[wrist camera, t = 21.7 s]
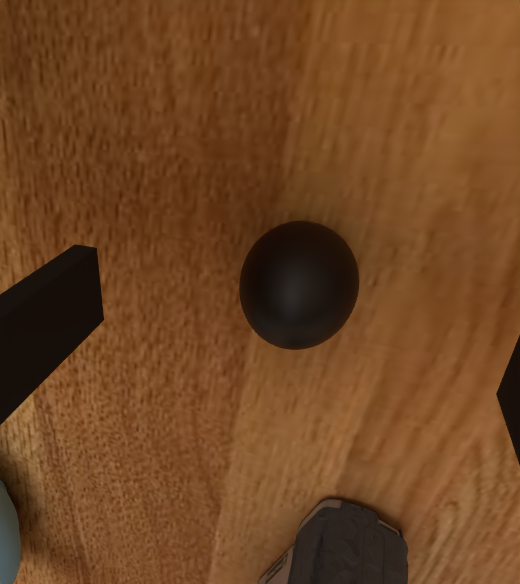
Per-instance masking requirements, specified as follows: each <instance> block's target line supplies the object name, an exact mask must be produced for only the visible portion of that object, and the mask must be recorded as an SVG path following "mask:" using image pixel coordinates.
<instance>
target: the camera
mask: <svg viewBox="0 0 520 584" xmlns="http://www.w3.org/2000/svg"><path fill="white" fill-rule="evenodd" d="M407 554H408V547H407V543H406V541H405V540H404V538H403V533H402V531H401V529H400V530H398V531H397V530H396V529H394V528H392V527H391V526H389V525H387V524H385V523H384V522H382V521H380V520H379V519H378V514H377V513H376V512H373V511H370V510H368V509H365V508H363V507H361V506H357V505H354V504H350V503H347V502H344V501H341V500H334V499H327V500H323V501H322V502H320V503H319V504H318V505H317V506H316V507H315V509H314V510H313V511H312V512H311V513H310V514H309V515H308V516H307V517H306V518H305V519H304V520H303V521H302V523H301V525H300V526H299V528H298V533H297V537H296V542H295V544H293V545H292V547H291V548H290V549H289V550H288V551H287V552H286V553H285V554H284V555H283V556H282V557H281V558H280V559H279V560H278V561H277V562H276V563H275V564H274V565H273V567H272V568H271V569H270V570H269V571H268V572H267V573H266V574H265V575H264V576H263V577H262V578H261V579H260V580H259V581H258V584H407V583H408V562H407Z"/></svg>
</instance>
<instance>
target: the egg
mask: <svg viewBox="0 0 520 584" xmlns="http://www.w3.org/2000/svg"><path fill="white" fill-rule="evenodd" d="M239 290H240V301H241V305H242V309H243V312H244V314H245V317H246V319H247V321H248V322H249V324H250V325H251V327H252V328H253V330H254V331H255V332H256V333H257V334H258V335H259V336H260V337H261V338H263V339H264V340H265V341H267V342H268V343H270V344H272V345H274V346H277V347H280V348H284V349H290V350H300V349H307V348H311V347H314V346H316V345H319V344H321V343H323V342H325V341H326V340H328V339H329V338H331V337H332V336H333V335H334V334H335V333H337V332H338V331H339V330H340V329H341V327H342V326H343V325H344V324H345V322H346V321H347V320H348V318H349V316H350V314H351V313H352V311H353V308H354V306H355V303H356V300H357V296H358V290H359V272H358V267H357V263H356V260H355V257H354V255H353V253H352V251H351V249H350V248H349V246H348V245H347V243H346V242H345V241H344V240H343V239H342V238H341V237H340V236H339V235H338V234H337V233H335V232H334V231H333V230H331V229H329V228H328V227H325V226H323V225H321V224H318V223H314V222H307V221H295V222H289V223H285V224H282V225H280V226H277V227H275V228H273V229H272V230H270V231H268V232H267V233H266V234H264V235H263V236H262V237H261V238H260V239H259V240H258V241H257V242H256V243H255V244H254V246H253V247H252V248H251V250H250V252H249V253H248V255H247V257H246V259H245V262H244V264H243V267H242V271H241V276H240V286H239Z"/></svg>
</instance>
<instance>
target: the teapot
mask: <svg viewBox="0 0 520 584" xmlns="http://www.w3.org/2000/svg"><path fill="white" fill-rule="evenodd" d="M20 561H21V544H20V530H19V521H18V516H17V512H16V510H15V507H14V505H13V503H12V501H11V499H10V497H9V495H8V494H7V489H6V487H5V485H4V483H3V482H2V481H1V480H0V584H13V583H14V581H15V579H16V576H17V573H18V570H19V566H20Z"/></svg>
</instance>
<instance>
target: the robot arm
mask: <svg viewBox="0 0 520 584" xmlns="http://www.w3.org/2000/svg"><path fill="white" fill-rule="evenodd" d="M103 320H104V315H103V305H102V295H101V285H100V275H99V266H98V256H97V248H94V247H88V246H82V245H76V244H75V245H73V246H72V247H71V248H69V249H68V250H66V251H65V252H63V253H62V254H60V255H59V256H57V257H56V258H54V259H53V260H51V261H50V262H48V263H47V264H45V265H44V266H42V267H41V268H39V269H38V270H36V271H35V272H33V273H32V274H30V275H29V276H27V277H26V278H24V279H23V280H21V281H20V282H18V283H17V284H15V285H14V286H12V287H11V288H9V289H8V290H6V291H5V292H3V293H2V294H0V425H1V424H2V423H3V422H4V421H5V420H6V419H7V418H8V417H9V416H10V415H11V414H12V413H13V412H14V411H15V410H16V409H17V408H18V407H19V406H20V405H21V404H22V403H23V402H24V401H25V399H26V398H27V397H28V396H29V395H30V394H31V393H32V392H33V391H34V390H35V389H36V388H37V387H38V386H39V385H40V384H41V383H42V382H43V381H44V380H45V379H46V378H47V377H48V376H49V375H50V374H51V373H52V372H53V371H54V370H55V369H56V368H57V367H58V366H59V365H60V364H61V363H62V362H63V361H64V360H65V359H66V358H67V357H68V356H69V355H70V354H71V353H72V352H73V351H74V350H75V349H76V348H77V347H78V346H79V345H80V344H81V343H82V342H83V341H84V340H85V339H86V338H87V337H88V336H89V335H90V334H91V333H92V332H93V331H94V330H95V329H96V328H97V327H98V326H99V325H100V323H101V322H102V321H103ZM496 395H497V398H498V401H499V404H500V407H501V410H502V413H503V416H504V419H505V422H506V425H507V428H508V431H509V434H510V437H511V440H512V443H513V446H514V449H515V452H516V455H517V458H518V461H519V465H520V336H519V338H518V341H517V343H516V346H515V348H514V351H513V353H512V356H511V358H510V361H509V363H508V366H507V368H506V371H505V373H504V376H503V378H502V381H501V383H500V386H499V388H498V391H497V393H496Z"/></svg>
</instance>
